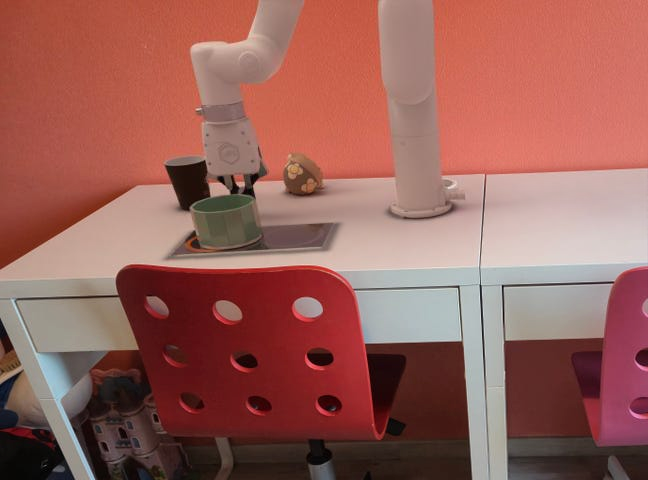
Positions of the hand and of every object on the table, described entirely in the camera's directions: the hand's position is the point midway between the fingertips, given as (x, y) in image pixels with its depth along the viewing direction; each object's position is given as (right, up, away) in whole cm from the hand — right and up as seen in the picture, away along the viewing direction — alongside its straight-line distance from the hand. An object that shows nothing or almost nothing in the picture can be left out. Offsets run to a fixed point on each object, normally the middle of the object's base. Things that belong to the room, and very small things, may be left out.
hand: (245, 206), depth 144 cm
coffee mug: (-15, +3, +14) cm, 21 cm away
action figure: (+8, +8, +19) cm, 22 cm away
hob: (+5, -9, -9) cm, 14 cm away
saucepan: (0, -6, -6) cm, 8 cm away
